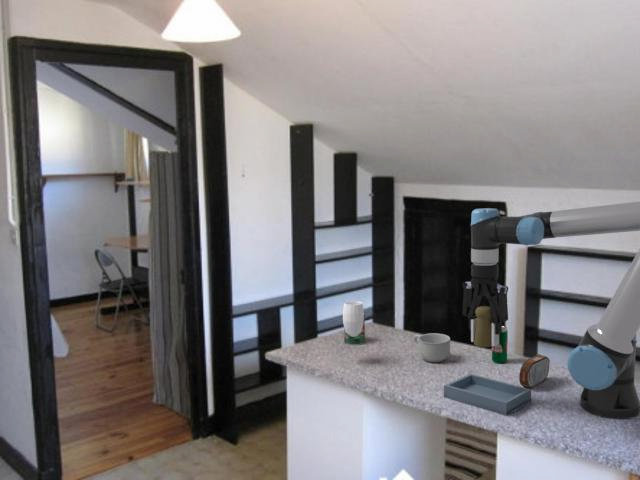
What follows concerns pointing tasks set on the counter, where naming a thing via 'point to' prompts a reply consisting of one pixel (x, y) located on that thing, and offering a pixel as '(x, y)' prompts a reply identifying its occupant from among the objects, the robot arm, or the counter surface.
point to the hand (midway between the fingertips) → (484, 342)
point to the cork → (483, 327)
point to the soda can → (501, 347)
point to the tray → (487, 394)
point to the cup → (353, 317)
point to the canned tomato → (357, 339)
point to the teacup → (433, 346)
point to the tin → (534, 371)
